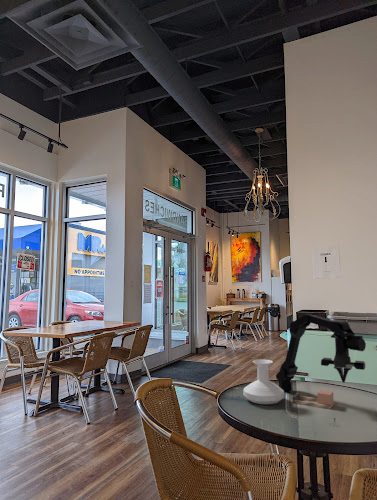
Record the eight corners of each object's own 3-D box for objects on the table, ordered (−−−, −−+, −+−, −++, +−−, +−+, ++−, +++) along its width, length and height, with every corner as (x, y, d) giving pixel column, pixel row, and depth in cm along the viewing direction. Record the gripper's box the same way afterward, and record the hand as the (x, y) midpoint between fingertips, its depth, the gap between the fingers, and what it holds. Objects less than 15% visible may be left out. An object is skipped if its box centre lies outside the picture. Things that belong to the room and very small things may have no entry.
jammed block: (317, 406, 172) (317, 392, 173) (320, 402, 178) (320, 389, 178) (331, 408, 169) (330, 394, 170) (333, 404, 174) (333, 391, 175)
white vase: (292, 401, 180) (291, 361, 182) (267, 410, 168) (266, 367, 169) (260, 392, 196) (259, 355, 197) (235, 400, 183) (234, 361, 185)
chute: (291, 403, 178) (291, 396, 178) (296, 398, 185) (296, 392, 185) (330, 409, 168) (330, 402, 168) (334, 404, 175) (334, 397, 176)
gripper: (317, 349, 170) (318, 383, 168) (361, 352, 160) (363, 389, 158) (322, 345, 179) (324, 378, 177) (364, 348, 169) (366, 383, 168)
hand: (343, 382), depth 170 cm, fingers closed
